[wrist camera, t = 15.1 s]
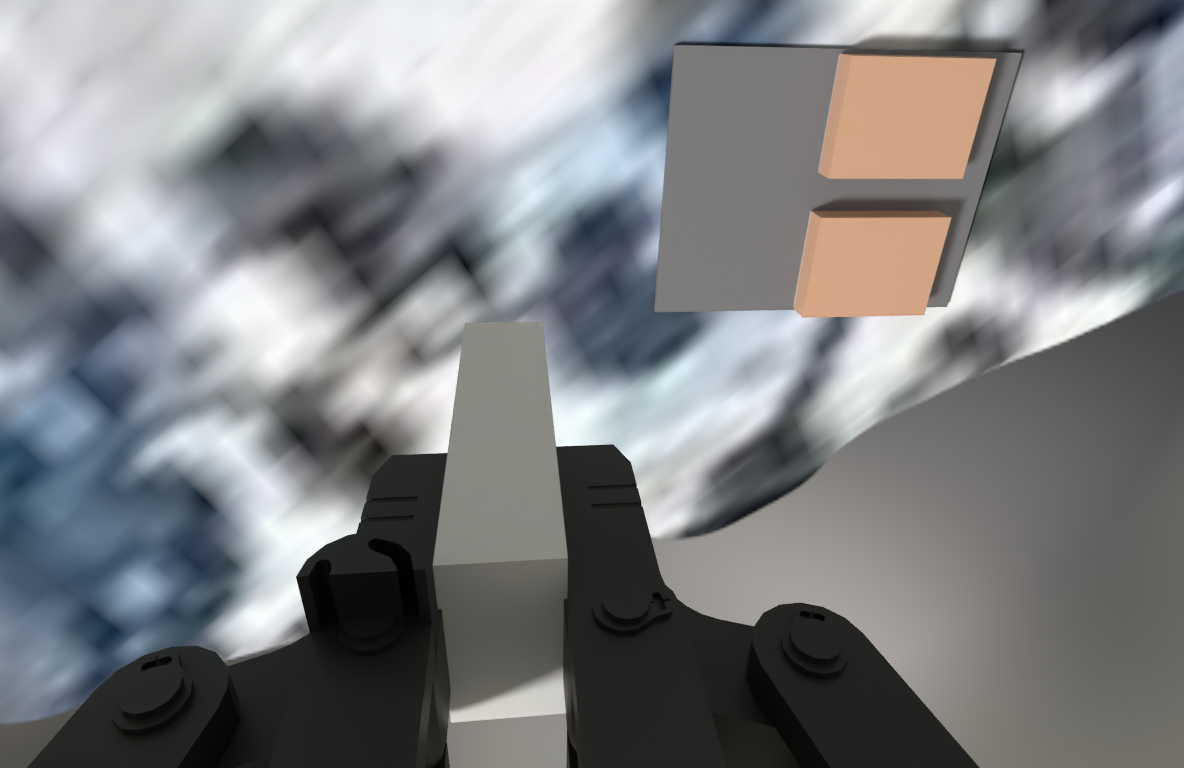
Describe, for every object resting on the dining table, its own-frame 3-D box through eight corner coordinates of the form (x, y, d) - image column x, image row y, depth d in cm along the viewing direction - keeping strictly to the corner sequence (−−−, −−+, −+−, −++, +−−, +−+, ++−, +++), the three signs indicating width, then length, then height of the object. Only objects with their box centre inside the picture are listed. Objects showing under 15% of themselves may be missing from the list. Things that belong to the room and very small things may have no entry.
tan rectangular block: (852, 55, 40) (996, 59, 41) (837, 53, 42) (976, 56, 43) (828, 178, 43) (962, 178, 44) (816, 171, 45) (945, 172, 46)
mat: (674, 44, 41) (675, 44, 40) (1018, 52, 43) (1022, 53, 43) (654, 309, 49) (655, 312, 49) (944, 304, 51) (946, 306, 51)
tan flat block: (821, 217, 44) (951, 217, 45) (809, 209, 46) (935, 209, 47) (802, 317, 48) (924, 315, 49) (792, 306, 50) (909, 304, 51)
